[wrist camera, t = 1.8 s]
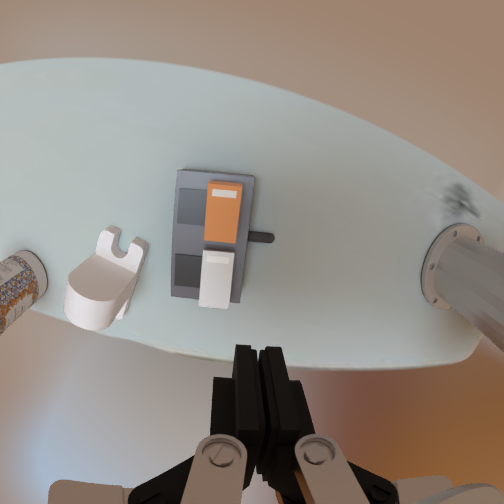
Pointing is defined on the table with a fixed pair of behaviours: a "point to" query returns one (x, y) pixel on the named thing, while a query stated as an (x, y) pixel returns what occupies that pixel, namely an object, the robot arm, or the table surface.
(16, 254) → the bath foam
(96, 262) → the cable organizer
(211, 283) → the rocker grey
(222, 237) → the rocker orange
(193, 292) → the rocker switch box
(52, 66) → the table surface
